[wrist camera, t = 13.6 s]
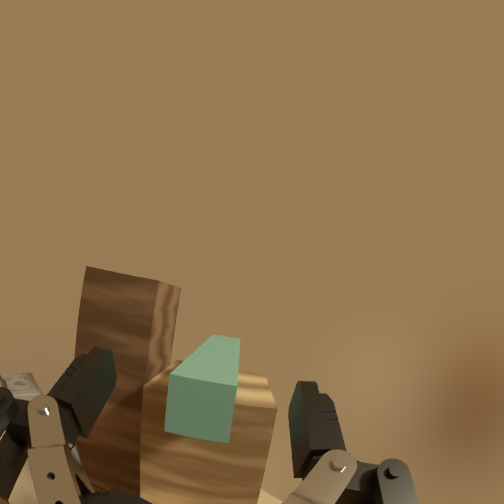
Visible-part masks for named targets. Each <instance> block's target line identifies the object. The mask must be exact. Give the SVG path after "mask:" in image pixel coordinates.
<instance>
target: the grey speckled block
mask: <svg viewBox="0 0 504 504" xmlns="http://www.w3.org/2000/svg"><path fill="white" fill-rule="evenodd" d="M0 380H1V385H2V386H3V387H5V388H7V389H9V390H10V391H11V392H12V394H13V396H14V398H17V399H22V400H27V401H30V400H31V399H33V398H34V397H36V396H39V395H42V392H41V391H40V389H39V387H38V386H37V384H36V382H35V379H34V377H33V375H32V374H31V373H20V374H18V373H16V374H1V375H0Z"/></svg>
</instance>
